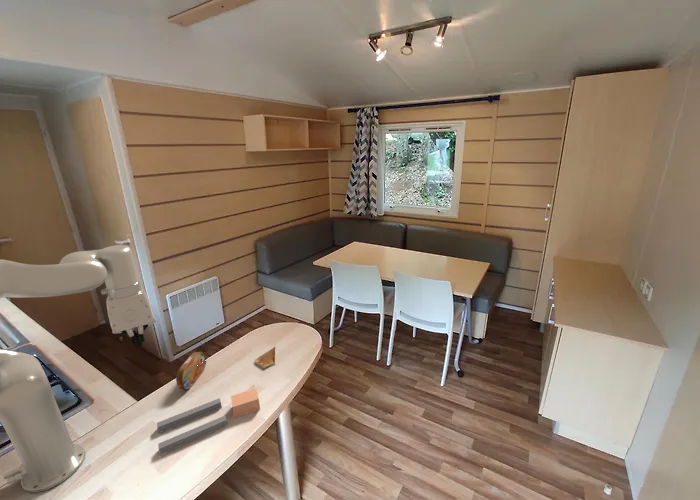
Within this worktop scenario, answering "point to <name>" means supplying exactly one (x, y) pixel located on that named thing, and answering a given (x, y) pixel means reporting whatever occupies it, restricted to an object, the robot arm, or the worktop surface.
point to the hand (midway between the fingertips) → (139, 344)
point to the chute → (193, 433)
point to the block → (245, 402)
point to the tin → (191, 370)
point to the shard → (266, 359)
